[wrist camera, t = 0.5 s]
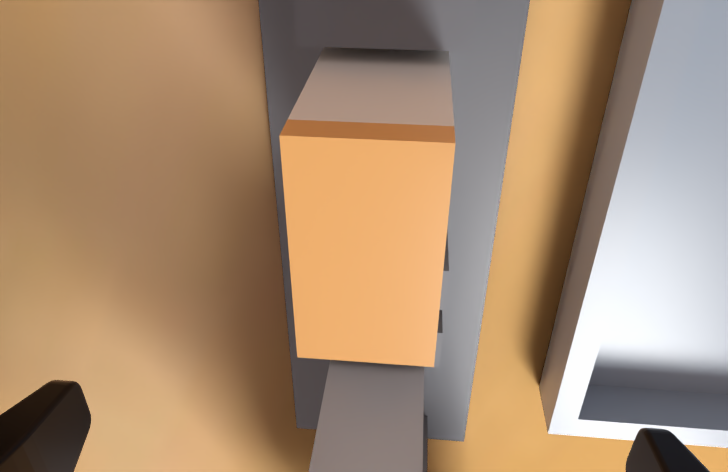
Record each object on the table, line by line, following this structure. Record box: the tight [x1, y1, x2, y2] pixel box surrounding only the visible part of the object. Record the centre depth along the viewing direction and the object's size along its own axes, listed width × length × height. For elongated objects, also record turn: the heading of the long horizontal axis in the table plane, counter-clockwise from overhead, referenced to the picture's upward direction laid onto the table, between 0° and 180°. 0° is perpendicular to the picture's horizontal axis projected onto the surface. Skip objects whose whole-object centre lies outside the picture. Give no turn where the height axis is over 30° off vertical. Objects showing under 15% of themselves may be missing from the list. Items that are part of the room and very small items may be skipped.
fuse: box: [309, 360, 424, 472], centre depth 23 cm, size 6×3×8 cm, turn 0°
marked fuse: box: [279, 47, 456, 367], centre depth 17 cm, size 6×3×8 cm, turn 0°
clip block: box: [258, 0, 530, 472], centre depth 22 cm, size 21×8×4 cm, turn 0°
